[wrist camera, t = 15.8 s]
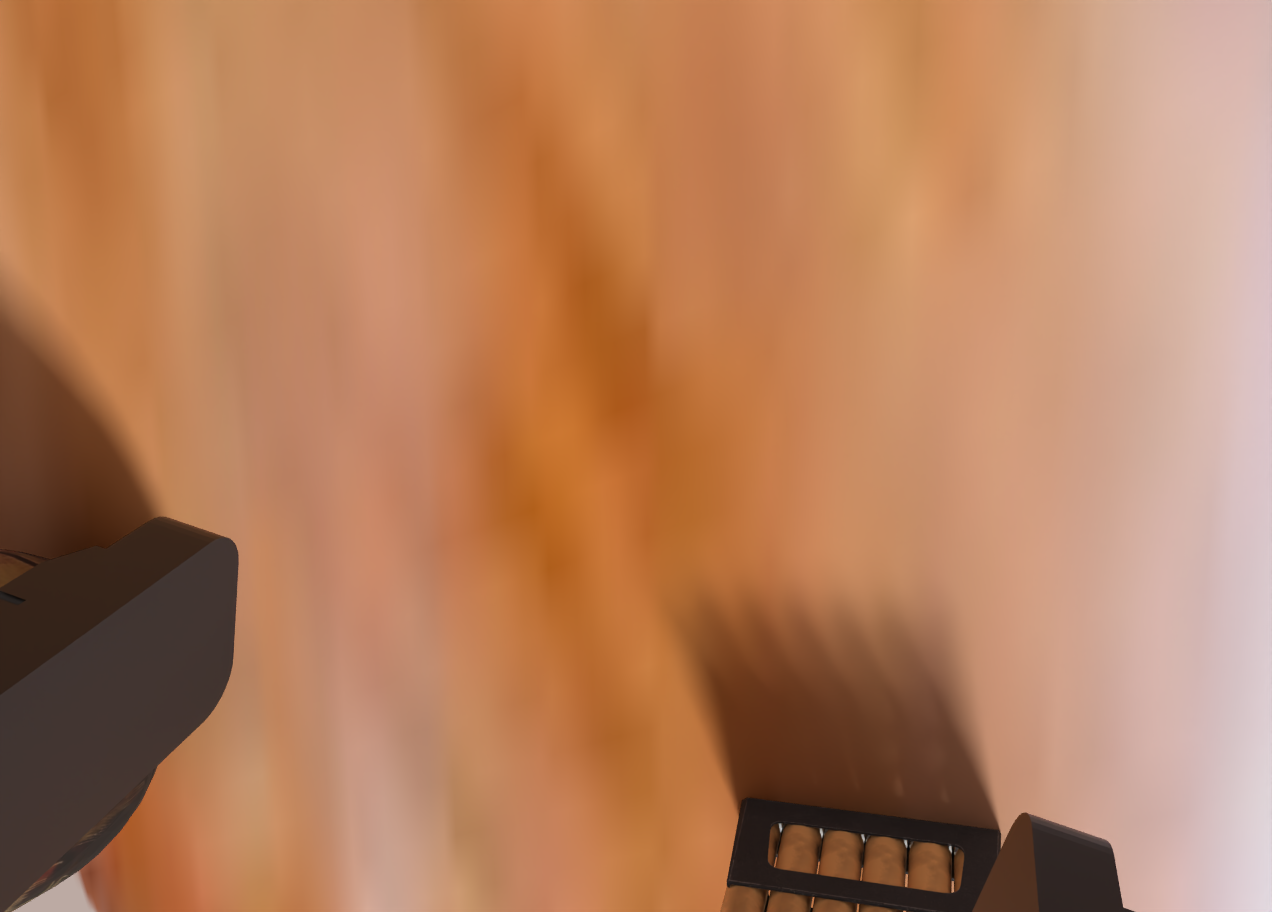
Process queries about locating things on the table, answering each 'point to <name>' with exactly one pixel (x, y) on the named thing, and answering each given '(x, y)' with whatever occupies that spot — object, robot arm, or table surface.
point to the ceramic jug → (3, 570)
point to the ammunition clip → (853, 861)
